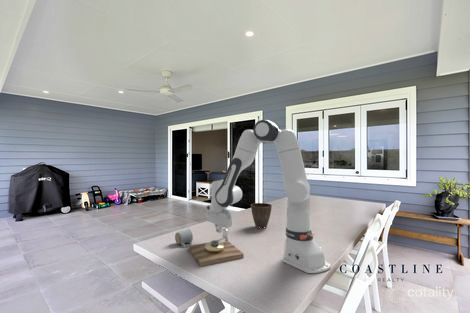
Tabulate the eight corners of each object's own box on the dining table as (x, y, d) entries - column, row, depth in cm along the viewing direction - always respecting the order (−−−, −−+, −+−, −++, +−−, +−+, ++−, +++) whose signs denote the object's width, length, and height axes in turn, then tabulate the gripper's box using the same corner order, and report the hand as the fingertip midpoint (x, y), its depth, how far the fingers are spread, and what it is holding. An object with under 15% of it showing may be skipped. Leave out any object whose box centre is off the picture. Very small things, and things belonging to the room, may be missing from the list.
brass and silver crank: (234, 244, 122) (234, 230, 122) (216, 254, 110) (216, 238, 110) (219, 240, 128) (219, 227, 128) (200, 249, 115) (200, 234, 115)
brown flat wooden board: (243, 257, 111) (243, 252, 111) (200, 266, 102) (200, 261, 102) (226, 243, 131) (226, 239, 131) (188, 249, 122) (188, 245, 122)
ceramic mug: (174, 243, 131) (174, 229, 131) (186, 240, 136) (187, 227, 136) (182, 249, 123) (182, 234, 123) (195, 245, 128) (195, 231, 128)
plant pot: (271, 224, 169) (271, 203, 169) (272, 230, 154) (272, 207, 154) (251, 224, 170) (251, 202, 171) (250, 230, 156) (250, 206, 156)
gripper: (234, 209, 123) (234, 235, 123) (213, 204, 139) (213, 227, 138) (225, 211, 119) (225, 238, 119) (204, 205, 135) (204, 229, 134)
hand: (218, 232), depth 129 cm, fingers closed
